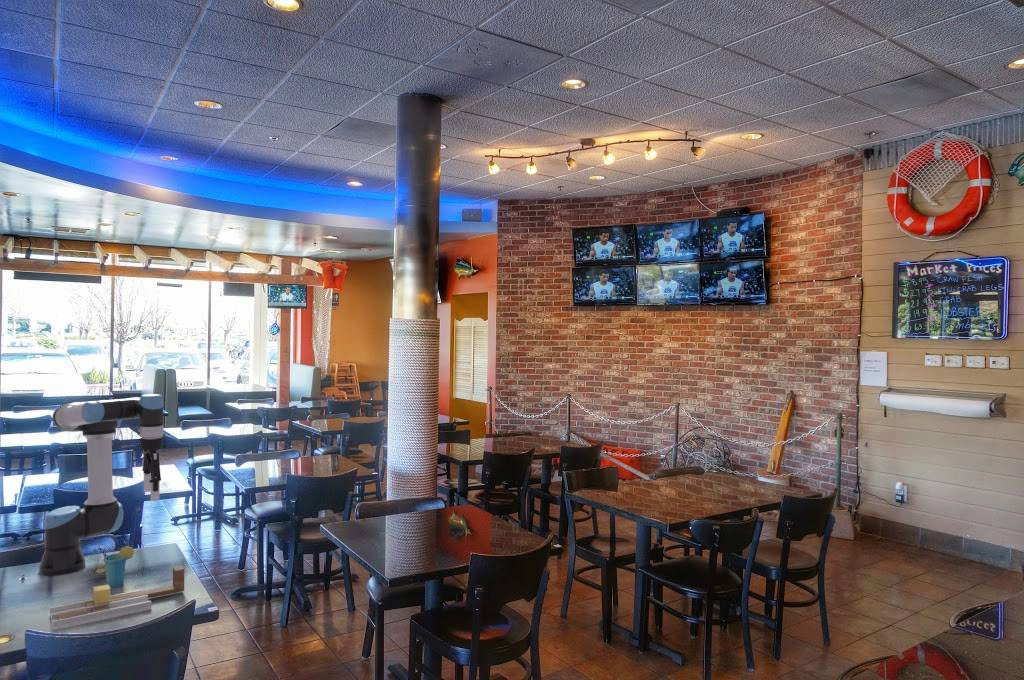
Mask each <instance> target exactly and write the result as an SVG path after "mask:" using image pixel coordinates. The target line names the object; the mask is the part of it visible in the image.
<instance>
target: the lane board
mask: <svg viewBox="0 0 1024 680" xmlns="http://www.w3.org/2000/svg"><path fill="white" fill-rule="evenodd" d="M144 590H146V589H145V588H143V589H138V590H132V591H127V592H123V593H117V594H110V597H114V596H119V595H124V594H129V593H134V592H139V591H144ZM88 601H93V598H92V599H87V600H81V601H77V602H71V603H66V604H61V605H55V606H50V607H49V617H50V623H51V627H52V631H56V630H62V629H66V628H71V627H75V626H76V627H77V626H79V625H80V626H81V625H85V624H90V623H95V622H98V621H104V620H109V619H113V618H119V617H123V616H126V615H127V616H128V615H132V614H137V613H141V612H142V613H143V612H146V611H150V610H152V600H149V598H148V595H143V596H139V597H134V598H129V599H124V600H119V601H114V602H109V603H104V604H99V605H94V606H89V607H86V602H88ZM107 604H109V606H110V609H108V610H103V611H98V612H93V613H91V608H92V607H97V606H102V605H107ZM82 609H86V610H87V613H88V614H83V615H79V616H74V617H69V618H64V619H59V620H57V614H62V613H67V612H72V611H77V610H82Z"/></svg>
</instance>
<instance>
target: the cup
mask: <svg viewBox="0 0 1024 680" xmlns="http://www.w3.org/2000/svg"><path fill="white" fill-rule="evenodd" d="M99 551H101V552H102V555H103V557H104V558H103V563H104V570H105V579H106V585H108V584H109V587H110V589H116V588H120V587H122V586H124V581H125V571H126V561H128V560H130V559H133V556H134V554H135V550H134V549H133V546H128V545H126V546H123V547H121V548H120V550H119V552H118V553H113V554H112V553H111V554H108V555H107V553H106V551H105V549H104V548H103V547H98V548H96V549H95V548H94V549H93V550H90V553H92V554H93V553H96V552H99Z"/></svg>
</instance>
